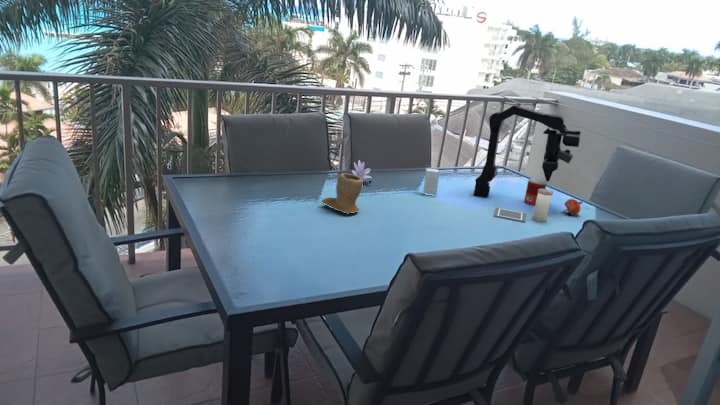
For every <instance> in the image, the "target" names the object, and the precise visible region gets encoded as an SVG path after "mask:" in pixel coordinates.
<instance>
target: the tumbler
mask: <svg viewBox="0 0 720 405" xmlns="http://www.w3.org/2000/svg"><path fill="white" fill-rule="evenodd" d="M553 194H554V191H553V190H551V189H548V188H545V189H538V195H537V200H536V204H535V205H534V209H533V214H532V218H531V219H532V220H533V221H535V222H537V223H546V222H547V218H548V215H549V211H550V207H551V201H552V197H553Z"/></svg>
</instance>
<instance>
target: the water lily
mask: <svg viewBox="0 0 720 405" xmlns="http://www.w3.org/2000/svg"><path fill="white" fill-rule="evenodd" d="M353 165H354V168H355V169H353V170H351V174H352V175H355V176H358V177H360V178H361V179H362V180H363V182H365V180H364V179H366V178H371V179H372V176H370V175H368V174H370V172H371V168H369V167H368V168H365V161H362V162H361V160H360V159H359V160H358V162H357V163H356V162H353ZM366 180H367V179H366Z"/></svg>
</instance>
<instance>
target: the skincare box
mask: <svg viewBox="0 0 720 405" xmlns="http://www.w3.org/2000/svg"><path fill="white" fill-rule="evenodd" d="M424 175H425V176H424V186H423V191H424V193H427V194H433V195H436V196H437V193H438V187H439V186H438V184H439V179H440V177H439V176H440V170H439V169H433V168H426V169H425V174H424Z"/></svg>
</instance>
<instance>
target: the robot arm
mask: <svg viewBox="0 0 720 405" xmlns="http://www.w3.org/2000/svg"><path fill="white" fill-rule="evenodd" d="M512 116H518V117H522V118H526V119H528V120H531V121H534V122H538V123H541V124H542V125H544V126H545V127H547V128H546V129H545V130H544V131H543V132H542V133H543V134H544V135H547V139H546V144H545V151H544V155H543V161H542V166H541V168H542V171H543V175H544V177H545V181H546V182H550V179H551V177H552V176H553V173H554V171H557V170H558V168H559V161H560V160H561V161H563V162H565V163H566V164H570V162H571V161H572V159H573V157H574V156H573V154H572V153H571V150H570V149H568V148H566V149H565V150H562V149H561V144H563V145H564V147H573V148H579V147H580V142H581V130H568V127H567V126H566V125H565V118H564V116H562V115H561V114H553V113H543V112H539V111H536V110H533V109H529V108H527V107H523V106H519V105H517V104H514V105H511V106H510V107H509V108H507V109H505V110H503V111H496V112H494V113H492V114H491V115H490V116H489V121H488V122H489V131H490V132H489V141H488V146H487V152H486V153H487V154H486V160H485V164H484V166H483V168H482V172H481V174H480V175H479V176H478V177H476V178H475V179H474V180H475V184H474V190H473V194H472V195H473V196H474V197H480V198H485V199H487V198H488V197H489V195H490V190H491V186H490V182H492V181H493V180H494V179H495V178H496V177H497V176H498V170H499V165H496V158H497V152H498V145H499V138H500V132H501V130H502V128H503V127H504V123H505V120H506V119H507V120H508V119H509V118H510V117H512Z"/></svg>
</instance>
